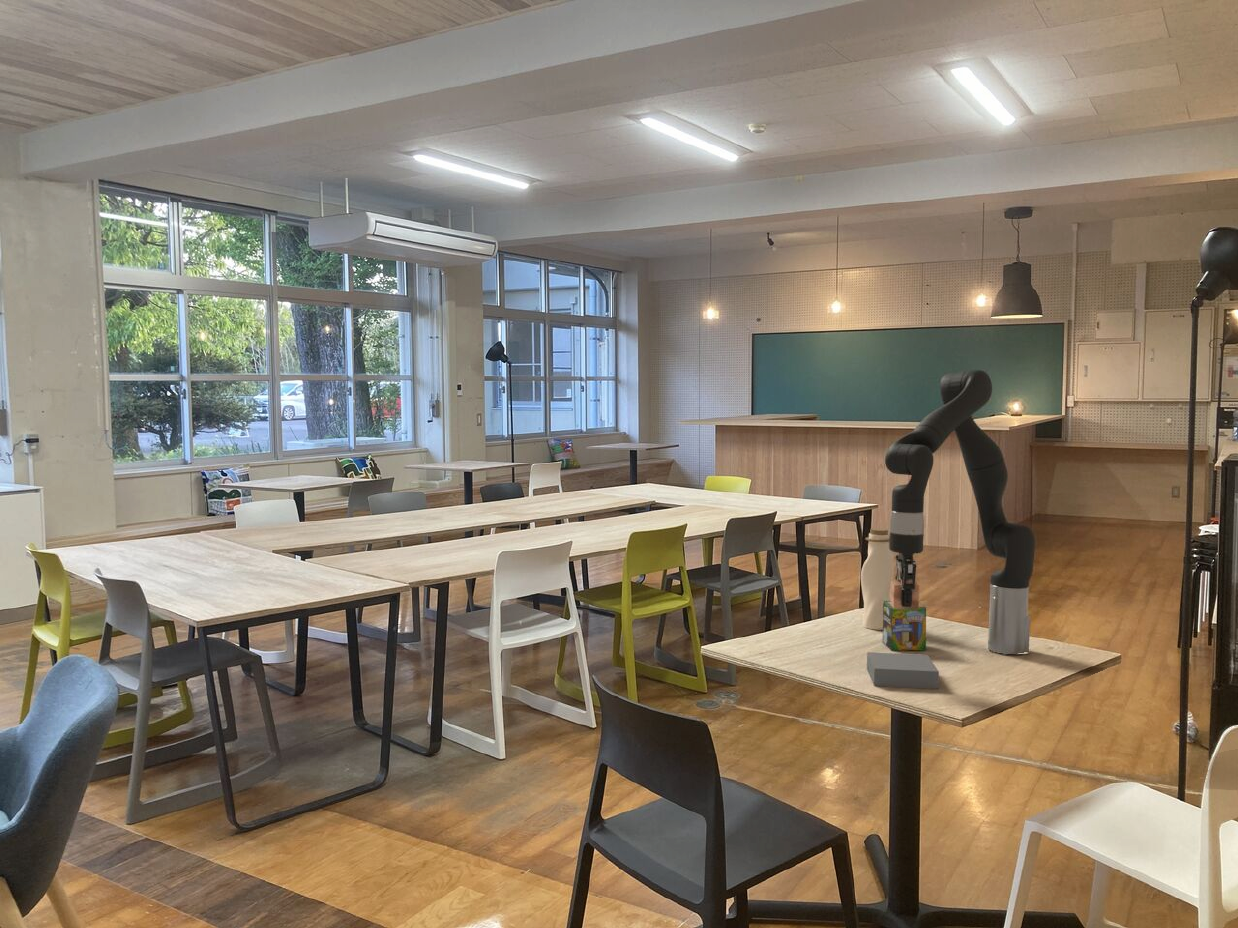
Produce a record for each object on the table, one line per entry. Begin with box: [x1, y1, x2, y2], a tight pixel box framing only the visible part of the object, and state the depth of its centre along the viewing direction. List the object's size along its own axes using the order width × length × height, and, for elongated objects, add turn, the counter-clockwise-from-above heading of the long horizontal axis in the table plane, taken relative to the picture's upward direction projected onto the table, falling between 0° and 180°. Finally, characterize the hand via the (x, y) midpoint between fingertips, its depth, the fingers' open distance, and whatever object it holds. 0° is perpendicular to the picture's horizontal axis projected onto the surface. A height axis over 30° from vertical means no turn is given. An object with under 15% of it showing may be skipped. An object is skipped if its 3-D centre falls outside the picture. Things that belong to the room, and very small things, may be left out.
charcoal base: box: [866, 651, 940, 690], centre depth 220 cm, size 14×14×4 cm
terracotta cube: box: [890, 580, 920, 610], centre depth 218 cm, size 6×6×6 cm
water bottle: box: [860, 527, 895, 631], centre depth 270 cm, size 10×9×28 cm
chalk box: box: [882, 601, 927, 651], centre depth 248 cm, size 9×9×15 cm
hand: (904, 603), depth 218 cm, fingers closed on terracotta cube, 5 cm apart
